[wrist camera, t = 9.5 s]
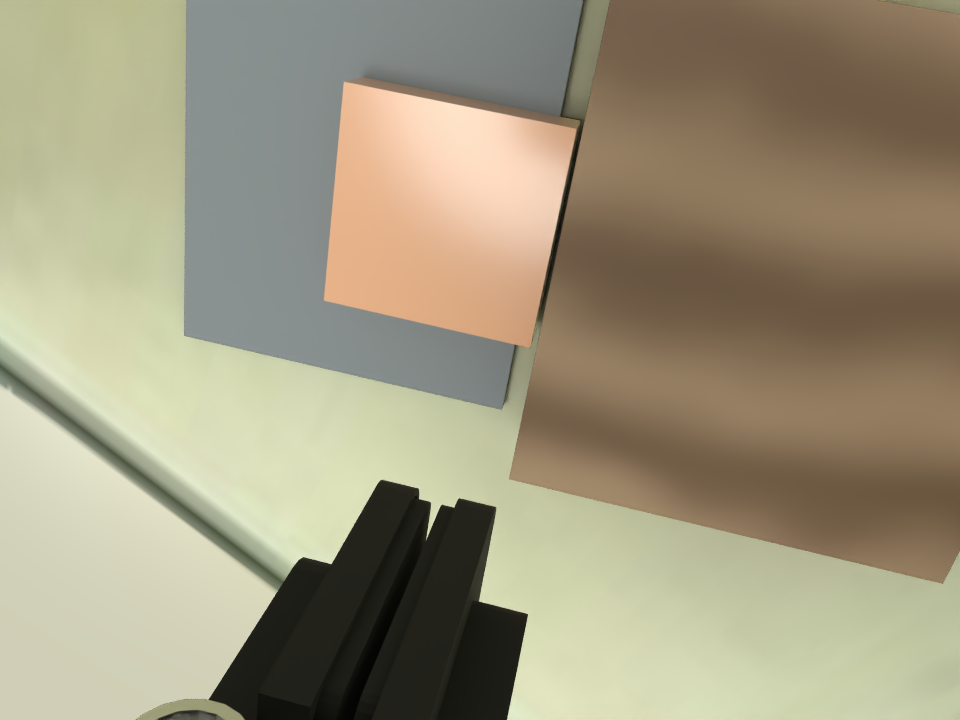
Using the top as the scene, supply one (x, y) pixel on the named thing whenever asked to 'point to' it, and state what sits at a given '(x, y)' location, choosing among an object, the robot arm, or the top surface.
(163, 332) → the top surface
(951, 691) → the top surface
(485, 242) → the tile
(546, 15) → the mat
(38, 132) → the top surface
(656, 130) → the deck
